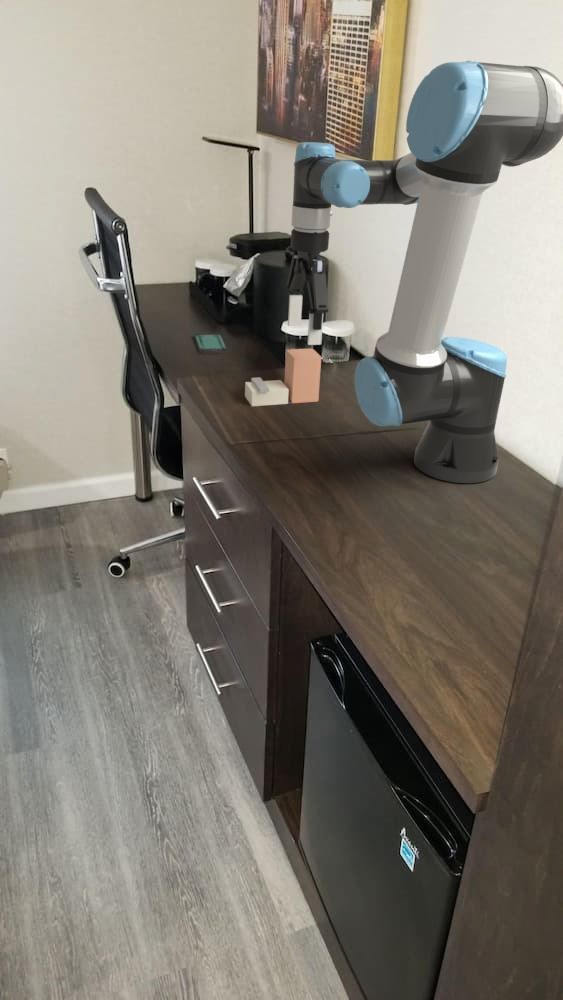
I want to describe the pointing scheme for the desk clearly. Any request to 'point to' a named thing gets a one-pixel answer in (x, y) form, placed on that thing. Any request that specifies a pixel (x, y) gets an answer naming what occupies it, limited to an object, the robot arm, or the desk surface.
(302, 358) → the stub
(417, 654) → the desk surface
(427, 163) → the robot arm
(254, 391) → the cream block
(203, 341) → the smartphone
